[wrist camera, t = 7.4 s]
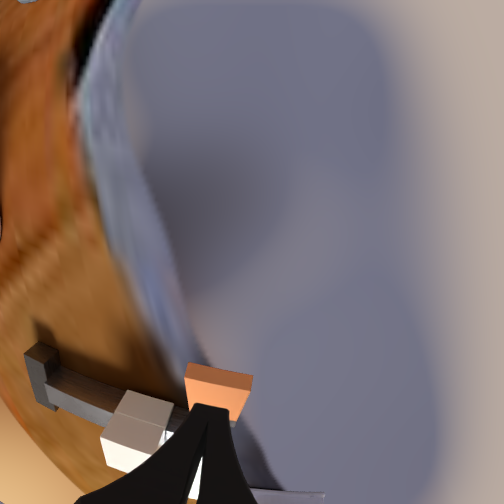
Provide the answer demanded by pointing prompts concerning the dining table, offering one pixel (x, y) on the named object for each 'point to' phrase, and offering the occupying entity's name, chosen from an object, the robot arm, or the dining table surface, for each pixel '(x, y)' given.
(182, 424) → the robot arm
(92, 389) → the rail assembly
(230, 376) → the lever
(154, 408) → the carriage
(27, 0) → the moka pot
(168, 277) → the dining table surface
